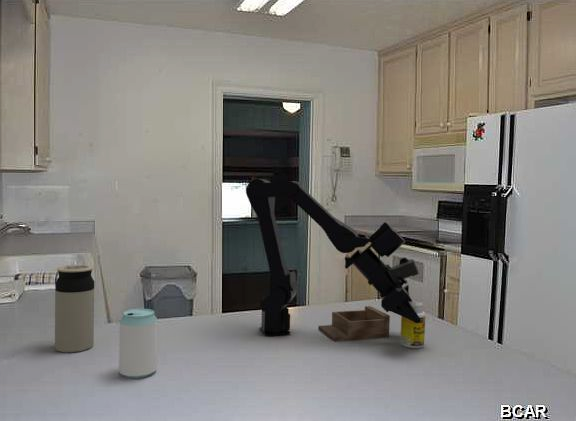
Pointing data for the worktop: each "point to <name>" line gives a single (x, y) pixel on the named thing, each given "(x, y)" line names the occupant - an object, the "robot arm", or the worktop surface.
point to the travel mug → (74, 308)
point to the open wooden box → (357, 325)
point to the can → (138, 343)
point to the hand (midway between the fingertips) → (419, 318)
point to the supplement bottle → (413, 329)
